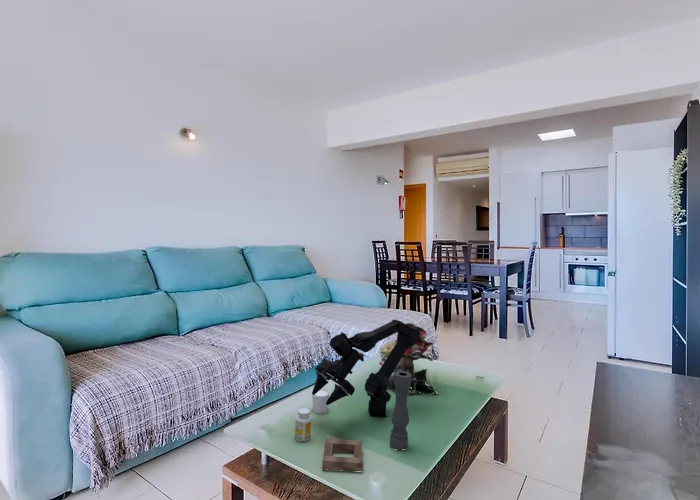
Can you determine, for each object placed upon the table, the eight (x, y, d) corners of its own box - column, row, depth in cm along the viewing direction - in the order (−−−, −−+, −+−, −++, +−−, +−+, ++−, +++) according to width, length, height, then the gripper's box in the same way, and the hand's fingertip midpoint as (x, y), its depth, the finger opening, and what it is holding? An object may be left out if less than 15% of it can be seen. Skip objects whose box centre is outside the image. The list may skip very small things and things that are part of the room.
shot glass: (326, 415, 149) (326, 397, 149) (309, 412, 150) (309, 395, 150) (330, 407, 156) (331, 390, 155) (314, 405, 157) (314, 388, 157)
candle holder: (387, 440, 134) (392, 370, 132) (405, 440, 134) (409, 370, 133) (391, 451, 127) (395, 377, 126) (409, 451, 128) (414, 378, 126)
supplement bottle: (295, 442, 130) (296, 414, 129) (294, 433, 135) (295, 407, 134) (311, 441, 131) (312, 414, 130) (309, 433, 136) (311, 406, 135)
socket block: (361, 449, 127) (361, 440, 127) (361, 472, 115) (362, 463, 115) (325, 447, 128) (325, 438, 127) (322, 470, 116) (322, 460, 115)
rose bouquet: (412, 371, 200) (415, 314, 199) (444, 395, 173) (449, 329, 171) (367, 375, 191) (370, 316, 190) (393, 401, 164) (398, 332, 162)
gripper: (320, 343, 145) (293, 377, 139) (349, 358, 130) (320, 397, 124) (336, 360, 150) (310, 393, 144) (366, 376, 135) (339, 414, 129)
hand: (319, 399), depth 135 cm, fingers open, 9 cm apart
